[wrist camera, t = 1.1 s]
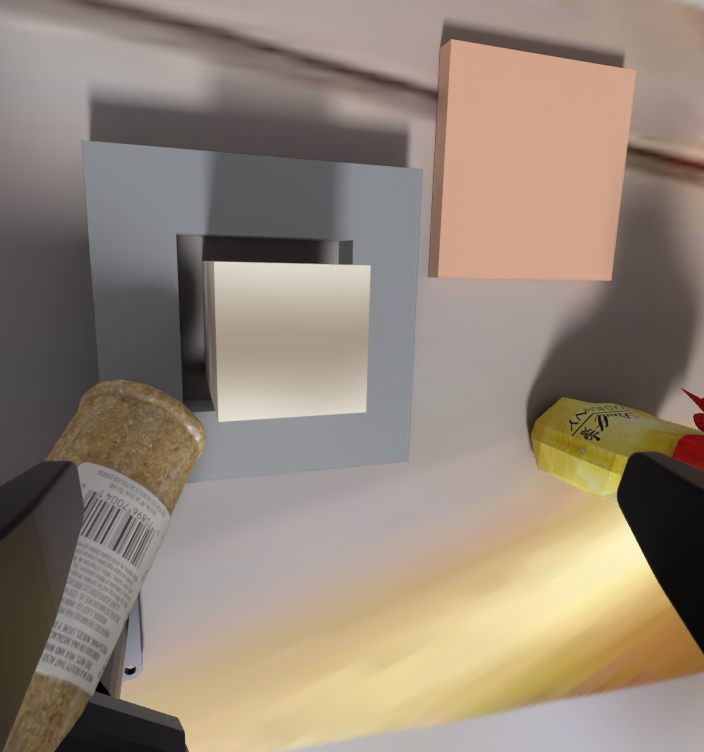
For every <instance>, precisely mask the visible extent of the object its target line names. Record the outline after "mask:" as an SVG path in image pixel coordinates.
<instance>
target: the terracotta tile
mask: <svg viewBox="0 0 704 752" xmlns="http://www.w3.org/2000/svg"><path fill="white" fill-rule="evenodd" d="M635 78H636V70H631V69H625V68H619V67H613V66H607V65H601V64H595V63H589V62H583V61H577V60H571V59H566V58H560V57H554V56H548V55H542V54H536V53H530V52H524V51H518V50H512V49H506V48H501V47H495V46H489V45H483V44H477V43H471V42H465V41H459V40H453V39H451V40H450V41H448V42H447V43H446V44H444V45H443V46H442V47H441V48H440V65H439V84H438V104H437V123H436V142H435V161H434V180H433V200H432V219H431V238H430V257H429V277H436V278H489V279H546V280H604V281H611V278H612V270H613V261H614V253H615V245H616V236H617V228H618V220H619V211H620V203H621V195H622V186H623V178H624V170H625V161H626V153H627V145H628V137H629V128H630V120H631V112H632V103H633V95H634V87H635Z"/></svg>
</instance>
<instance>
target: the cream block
mask: <svg viewBox="0 0 704 752" xmlns="http://www.w3.org/2000/svg"><path fill="white" fill-rule="evenodd" d="M370 270H371V265H342V264H310V263H269V262H228V261H202V281H203V312H204V343H205V374H206V380H207V384H208V387H209V391H210V394H211V398H212V401H213V405H214V409H215V412H216V416H217V419H218V422H226V421H241V420H256V419H272V418H287V417H302V416H317V415H333V414H348V413H363V412H366V400H367V367H368V335H369V303H370Z"/></svg>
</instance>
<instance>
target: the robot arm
mask: <svg viewBox="0 0 704 752" xmlns="http://www.w3.org/2000/svg"><path fill="white" fill-rule="evenodd" d="M617 501H618V504H619V507H620V509H621V511H622V513H623V515H624V517H625V519H626V521H627V523H628V525H629V526H630V528H631V530H632V532H633V534H634V536H635V538H636V540H637V542H638V544H639V546H640V548H641V550H642V552H643V554H644V556H645V558H646V560H647V562H648V564H649V566H650V568H651V570H652V572H653V574H654V575H655V577H656V579H657V581H658V583H659V585H660V586H661V588H662V590H663V591H664V593H665V595H666V596H667V598H668V599H669V601H670V603H671V604H672V606H673V607H674V609H675V611H676V612H677V614H678V615H679V617H680V618H681V620H682V622H683V623H684V625H685V626H686V628H687V630H688V631H689V633H690V634H691V636H692V638H693V639H694V641H695V642H696V644H697V645H698V647H699V649H700V650H701V652H702V653H703V655H704V470H702V469H699V468H697V467H694V466H692V465H689V464H687V463H684V462H682V461H680V460H677V459H675V458H672V457H670V456H667V455H665V454H663V453H660V452H656V451H642V452H634V453H632V454H631V455H630V456H629V458H628V460H627V463H626V466H625V468H624V471H623V474H622V477H621V480H620V483H619V486H618V489H617ZM83 519H84V502H83V496H82V490H81V485H80V479H79V473H78V469H77V466H76V464H75V463H74V462H72V461H44V462H41V463H39V464H38V465H36V466H34V467H33V468H31V469H29V470H27V471H26V472H24V473H22V474H21V475H19V476H17V477H15V478H14V479H12V480H10V481H9V482H7V483H5V484H3V485H2V486H0V752H3V750H4V748H5V745H6V743H7V740H8V738H9V735H10V733H11V730H12V728H13V725H14V723H15V720H16V718H17V715H18V713H19V710H20V708H21V705H22V703H23V700H24V698H25V695H26V693H27V690H28V688H29V686H30V683H31V681H32V678H33V676H34V673H35V671H36V668H37V666H38V663H39V661H40V658H41V656H42V653H43V651H44V648H45V646H46V643H47V641H48V638H49V636H50V633H51V631H52V628H53V625H54V623H55V620H56V617H57V614H58V611H59V607H60V604H61V601H62V597H63V594H64V590H65V586H66V583H67V579H68V575H69V572H70V568H71V564H72V560H73V557H74V553H75V549H76V546H77V542H78V538H79V535H80V531H81V527H82V524H83ZM142 662H143V661H142V645H141V630H140V614H139V598H138V596H137V598H136V600H135V602H134V605H133V607H132V609H131V611H130V614H129V616H128V618H127V620H126V623H125V625H124V627H123V629H122V631H121V634H120V636H119V638H118V640H117V643H116V645H115V647H114V649H113V651H112V654H111V656H110V658H109V660H108V663H107V665H106V667H105V669H104V671H103V674H102V676H101V678H100V680H99V683H98V685H97V687H96V689H95V692H94V694H93V696H92V698H91V699H90V700H89V701H88V703H87V705H86V707H85V708H84V711H83V713H82V714H81V716H80V717H79V718H78V720H77V721H76V722H75V724H74V726H73V728H72V729H71V730H70V731H69V732H68V733H67V735H66V736H65V737H64V739H63V740H62V741H61V743H60V744H59V746H58V747H57V749H56V750H55V751H54V752H189V751H188V748H187V746H186V744H185V732H184V730H183V727H182V725H181V723H180V721H179V719H178V718H177V717H174V716H171V715H167V714H164V713H161V712H158V711H155V710H152V709H149V708H146V707H142V706H139V705H136V704H133V703H130V702H127V701H124V700H121V699H120V692H121V684H122V681H127V680H131V679H134V678H136V677H137V676H139V675H140V673H141V671H142ZM129 665H134V666H135V667H134V668H132V669H128V668H126V667H127V666H129Z"/></svg>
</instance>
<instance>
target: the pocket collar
mask: <svg viewBox="0 0 704 752" xmlns="http://www.w3.org/2000/svg"><path fill="white" fill-rule="evenodd" d="M82 154H83V168H84V181H85V195H86V209H87V222H88V236H89V250H90V263H91V277H92V290H93V304H94V318H95V331H96V345H97V359H98V372H99V383H101V382H103V381H112V380H116V379H118V380H125V381H130V382H137V383H142V384H146V385H148V386H151V387H153V388H156V389H158V390H160V391H163V392H164V393H166V394H168V395H169V396H171V397H173V398H175V399H176V400H178V401H179V402H181V403H183V404H184V405H185V406H186V407H187V408H189V409H190V411H191V412H192V413H193V414H194V415H196V416H197V418H198V419H199V420H200V422H201V423H202V425H203V428H204V431H205V434H206V446H205V448H204V451H203V453H202V454H201V456H200V457H199V459H198V460H197V461H195V463H194V465H193V468H192V470H191V472H190V475H189V477H188V479H187V481H186V483H192V482H202V481H212V480H223V479H233V478H243V477H254V476H264V475H274V474H285V473H295V472H305V471H316V470H326V469H336V468H346V467H357V466H367V465H377V464H388V463H398V462H408V461H409V445H410V424H411V403H412V382H413V361H414V340H415V320H416V299H417V278H418V257H419V236H420V215H421V195H422V174H423V169H414V168H403V167H391V166H379V165H367V164H356V163H344V162H332V161H320V160H308V159H297V158H285V157H273V156H261V155H250V154H238V153H226V152H214V151H202V150H191V149H179V148H167V147H155V146H144V145H132V144H120V143H108V142H96V141H85V140H82ZM176 235H181V236H207V237H234V238H260V239H287V240H313V241H339V264H342V265H371V270H370V303H369V335H368V367H367V400H366V412H363V413H348V414H333V415H317V416H302V417H287V418H272V419H256V420H241V421H226V422H218V419H217V416H216V412H215V409H214V405H213V401H212V399H209V400H189V401H183V390H182V365H181V341H180V317H179V292H178V268H177V244H176Z"/></svg>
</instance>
